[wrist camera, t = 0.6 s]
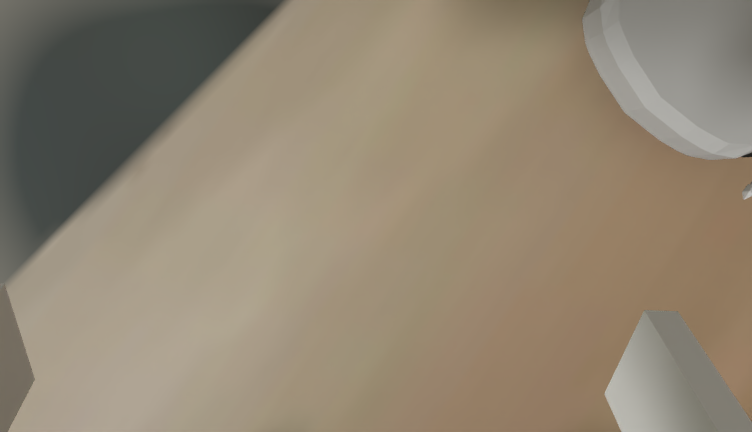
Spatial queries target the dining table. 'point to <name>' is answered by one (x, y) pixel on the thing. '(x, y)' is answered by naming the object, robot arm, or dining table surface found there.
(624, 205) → the dining table surface
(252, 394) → the dining table surface
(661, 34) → the robot toy
